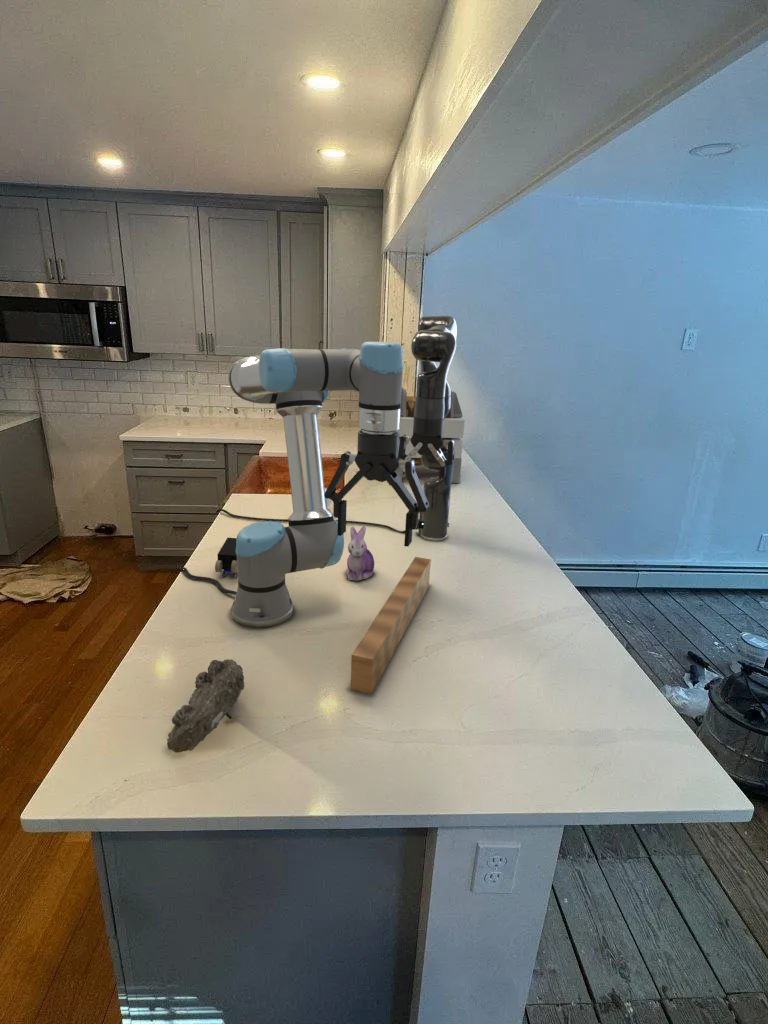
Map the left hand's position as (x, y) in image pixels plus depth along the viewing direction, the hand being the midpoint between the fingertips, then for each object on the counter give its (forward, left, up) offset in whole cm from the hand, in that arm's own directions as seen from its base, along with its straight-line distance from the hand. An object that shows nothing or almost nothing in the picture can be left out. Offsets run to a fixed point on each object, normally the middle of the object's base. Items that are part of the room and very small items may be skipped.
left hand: (374, 538), depth 110 cm
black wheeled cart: (-63, +17, -32) cm, 73 cm away
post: (-7, +20, -32) cm, 39 cm away
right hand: (-13, +39, +1) cm, 41 cm away
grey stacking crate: (-78, +145, -32) cm, 168 cm away
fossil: (-16, -28, -32) cm, 46 cm away
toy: (-73, +63, -32) cm, 102 cm away
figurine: (-32, +38, -32) cm, 60 cm away
